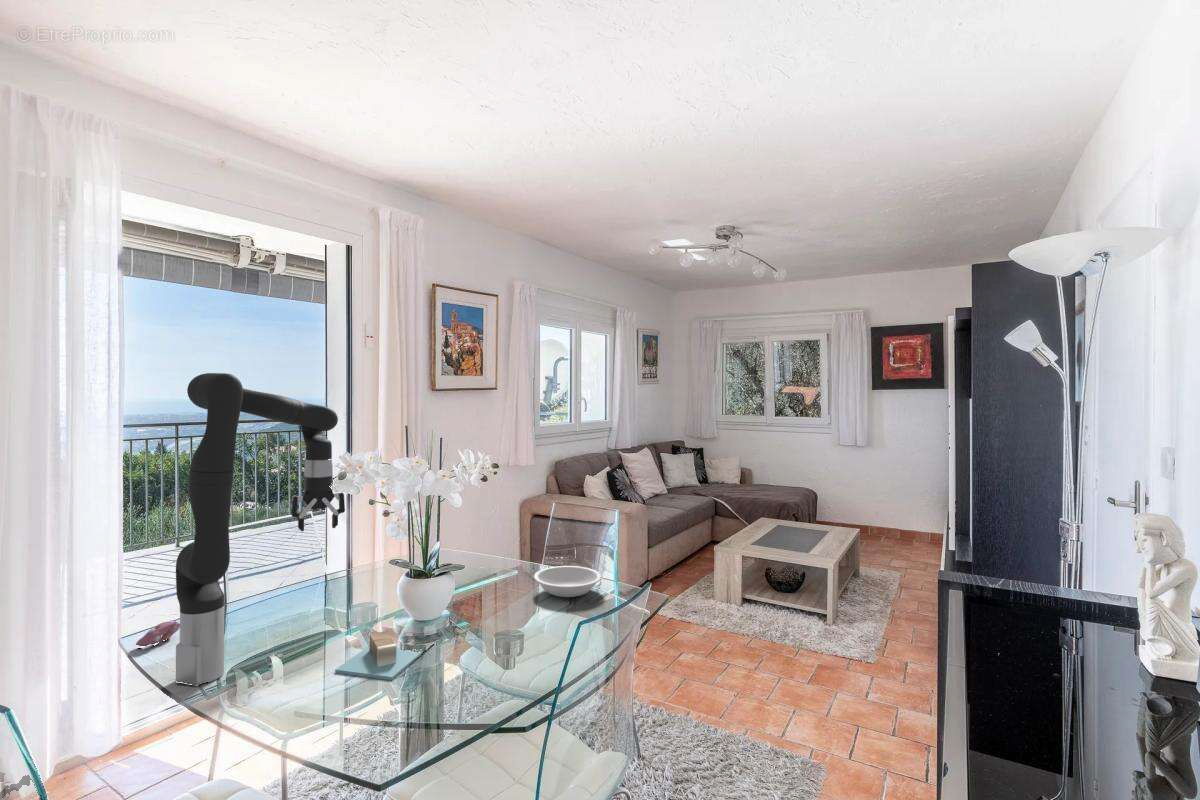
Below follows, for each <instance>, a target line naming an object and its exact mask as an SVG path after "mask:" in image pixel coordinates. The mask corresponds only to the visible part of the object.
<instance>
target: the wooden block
mask: <svg viewBox="0 0 1200 800" xmlns="http://www.w3.org/2000/svg"><path fill="white" fill-rule="evenodd" d="M391 636H392V635H390V633H389V632H388V631H387V630H384V631H379V632H374V633H369V645H368V646H369V651H370V653H371V654H372V656H373V658H374V660H375V662H376V663H377V665H378V667H379V666H384V665H388V664H393V663H396V644H395V643H394V641H393V640H392V638H391Z"/></svg>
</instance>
